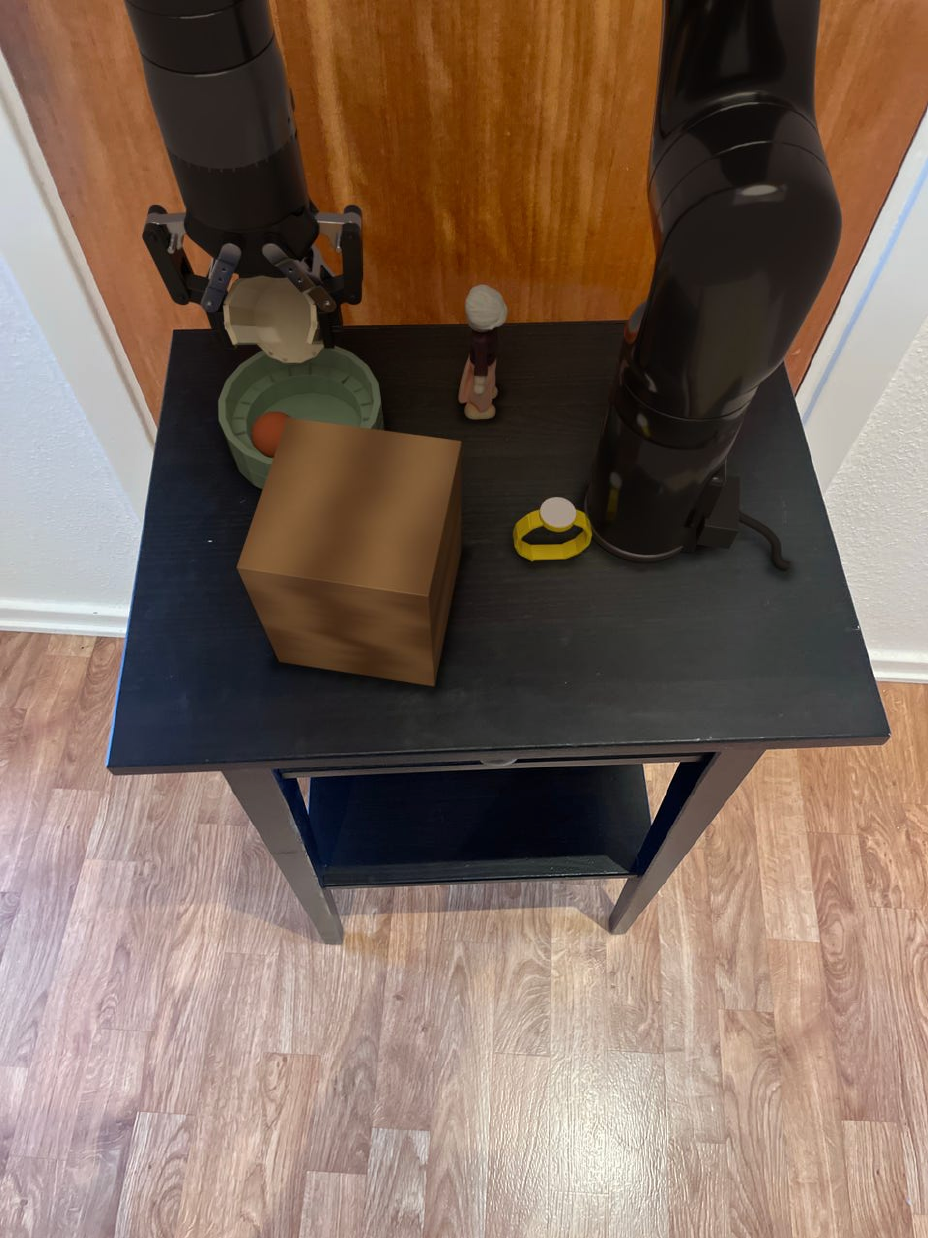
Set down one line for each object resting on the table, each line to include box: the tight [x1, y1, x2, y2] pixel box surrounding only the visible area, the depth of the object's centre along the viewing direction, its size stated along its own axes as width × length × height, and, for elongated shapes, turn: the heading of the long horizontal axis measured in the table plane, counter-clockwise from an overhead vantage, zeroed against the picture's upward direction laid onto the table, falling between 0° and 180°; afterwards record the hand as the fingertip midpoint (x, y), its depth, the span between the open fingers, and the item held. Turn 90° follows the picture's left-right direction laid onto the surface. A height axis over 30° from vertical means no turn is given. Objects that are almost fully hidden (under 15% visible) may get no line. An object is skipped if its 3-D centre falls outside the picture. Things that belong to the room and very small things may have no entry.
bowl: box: [217, 345, 385, 490], centre depth 73 cm, size 13×13×5 cm
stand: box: [236, 418, 463, 687], centre depth 61 cm, size 12×12×14 cm
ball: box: [251, 411, 291, 458], centre depth 72 cm, size 4×4×4 cm
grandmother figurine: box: [457, 284, 509, 420], centre depth 71 cm, size 8×4×13 cm, turn 2°
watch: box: [512, 496, 593, 562], centre depth 67 cm, size 6×3×6 cm, turn 95°
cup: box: [223, 276, 324, 363], centre depth 63 cm, size 6×6×8 cm
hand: (282, 340), depth 63 cm, fingers closed on cup, 6 cm apart
